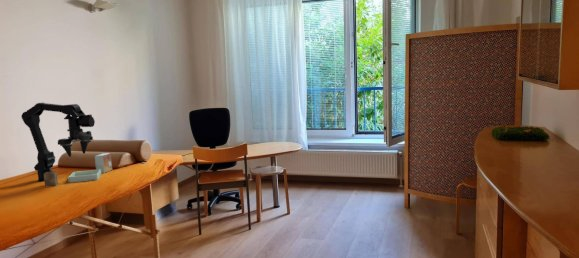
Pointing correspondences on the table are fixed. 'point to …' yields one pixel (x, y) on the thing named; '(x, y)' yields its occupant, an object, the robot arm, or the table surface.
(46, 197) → the table surface
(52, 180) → the walnut block
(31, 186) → the table surface
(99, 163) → the small box
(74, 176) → the tray
